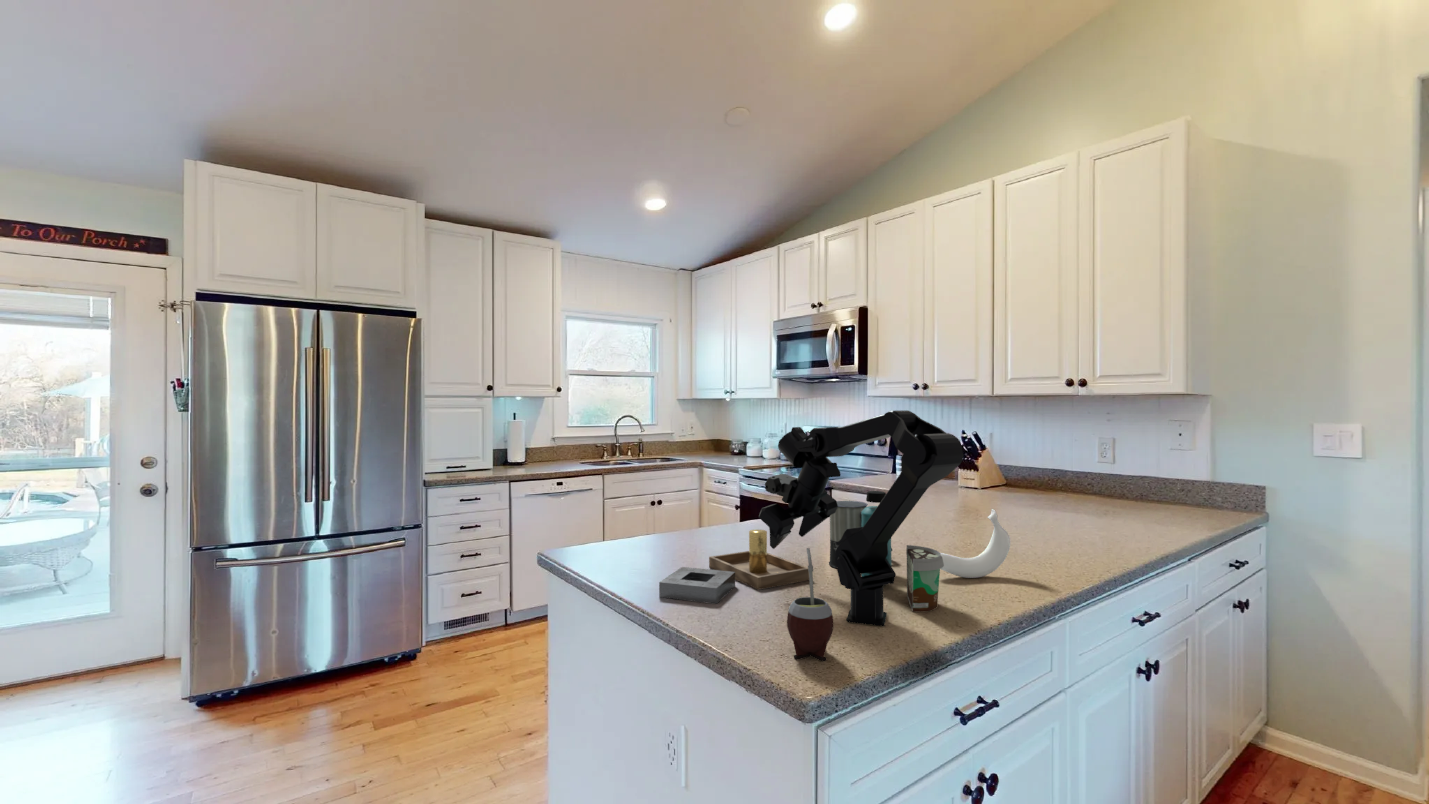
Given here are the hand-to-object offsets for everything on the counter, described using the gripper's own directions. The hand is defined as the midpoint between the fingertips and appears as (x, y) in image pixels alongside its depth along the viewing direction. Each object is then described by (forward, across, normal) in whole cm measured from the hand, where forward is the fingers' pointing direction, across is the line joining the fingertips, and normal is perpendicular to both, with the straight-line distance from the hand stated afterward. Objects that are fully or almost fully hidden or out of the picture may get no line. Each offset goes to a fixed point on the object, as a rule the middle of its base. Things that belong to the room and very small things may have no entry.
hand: (786, 541), depth 129 cm
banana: (0, -34, +27) cm, 43 cm away
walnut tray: (+14, -1, -4) cm, 14 cm away
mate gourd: (-7, +25, +25) cm, 36 cm away
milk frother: (+11, -26, +6) cm, 29 cm away
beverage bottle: (+3, -12, +17) cm, 21 cm away
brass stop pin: (+13, -1, -4) cm, 14 cm away
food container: (-4, -9, +28) cm, 30 cm away
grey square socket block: (+11, +18, -4) cm, 21 cm away
